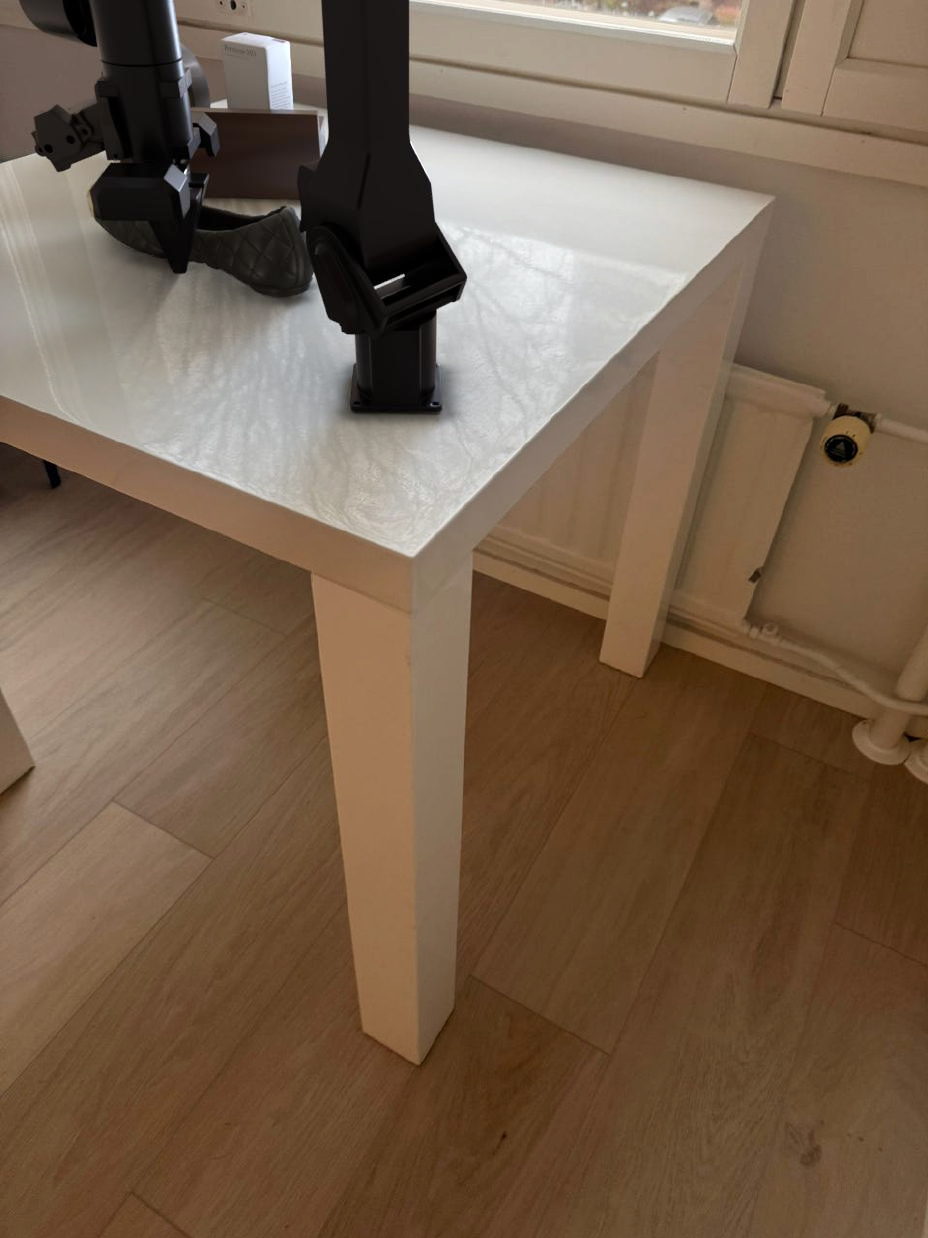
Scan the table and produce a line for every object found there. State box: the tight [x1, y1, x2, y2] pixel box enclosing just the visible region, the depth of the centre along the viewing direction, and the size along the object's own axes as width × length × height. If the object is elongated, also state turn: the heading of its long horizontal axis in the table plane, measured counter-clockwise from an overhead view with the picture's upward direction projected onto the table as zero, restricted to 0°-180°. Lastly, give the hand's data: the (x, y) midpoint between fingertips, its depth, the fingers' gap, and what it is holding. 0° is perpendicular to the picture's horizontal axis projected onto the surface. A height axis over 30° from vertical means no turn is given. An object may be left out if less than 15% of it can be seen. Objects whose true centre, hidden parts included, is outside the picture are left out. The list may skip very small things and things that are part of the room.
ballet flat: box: [86, 182, 315, 299], centre depth 81 cm, size 9×26×7 cm, turn 56°
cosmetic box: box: [220, 31, 294, 110], centre depth 98 cm, size 6×4×12 cm
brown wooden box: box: [119, 107, 327, 200], centre depth 94 cm, size 7×20×8 cm, turn 93°
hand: (180, 272), depth 77 cm, fingers closed
